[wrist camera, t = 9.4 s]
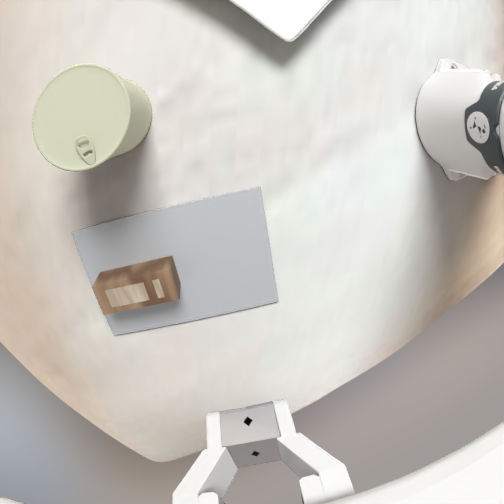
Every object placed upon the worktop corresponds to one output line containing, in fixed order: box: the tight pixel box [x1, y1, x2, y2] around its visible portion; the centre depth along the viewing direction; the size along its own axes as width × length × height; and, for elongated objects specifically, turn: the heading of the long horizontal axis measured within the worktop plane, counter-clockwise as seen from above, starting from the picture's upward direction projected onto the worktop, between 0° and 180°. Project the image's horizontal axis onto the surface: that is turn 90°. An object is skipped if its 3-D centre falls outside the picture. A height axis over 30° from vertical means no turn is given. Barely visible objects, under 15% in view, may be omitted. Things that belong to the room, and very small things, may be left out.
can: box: [32, 63, 152, 172], centre depth 26 cm, size 9×9×12 cm
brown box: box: [92, 255, 181, 315], centre depth 37 cm, size 4×4×10 cm
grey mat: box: [72, 187, 278, 335], centre depth 40 cm, size 24×16×1 cm, turn 100°
